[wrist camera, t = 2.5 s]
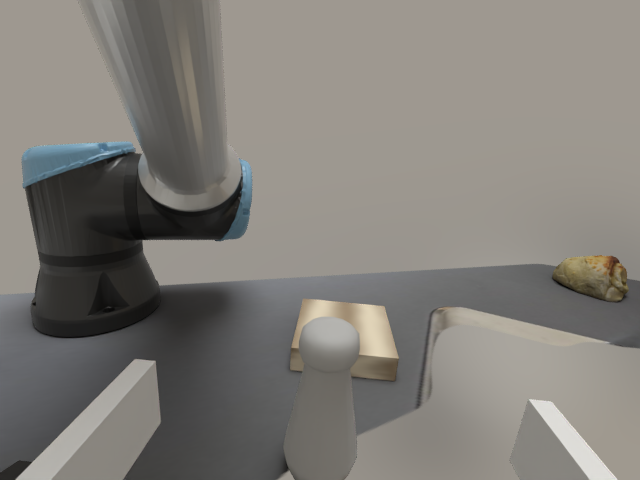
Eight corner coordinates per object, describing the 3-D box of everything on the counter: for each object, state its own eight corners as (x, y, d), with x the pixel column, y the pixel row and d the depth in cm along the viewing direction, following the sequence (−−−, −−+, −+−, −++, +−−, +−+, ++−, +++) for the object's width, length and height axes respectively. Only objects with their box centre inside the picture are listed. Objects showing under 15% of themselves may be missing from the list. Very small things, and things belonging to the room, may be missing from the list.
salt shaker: (328, 425, 29) (341, 300, 26) (368, 480, 25) (391, 337, 21) (270, 454, 26) (275, 316, 23) (304, 523, 22) (317, 363, 18)
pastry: (640, 309, 60) (656, 269, 57) (562, 293, 64) (574, 256, 62) (607, 282, 72) (619, 249, 70) (544, 271, 76) (553, 239, 74)
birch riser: (290, 370, 36) (291, 347, 35) (302, 316, 48) (303, 298, 47) (394, 380, 36) (398, 358, 35) (381, 324, 47) (384, 306, 46)
